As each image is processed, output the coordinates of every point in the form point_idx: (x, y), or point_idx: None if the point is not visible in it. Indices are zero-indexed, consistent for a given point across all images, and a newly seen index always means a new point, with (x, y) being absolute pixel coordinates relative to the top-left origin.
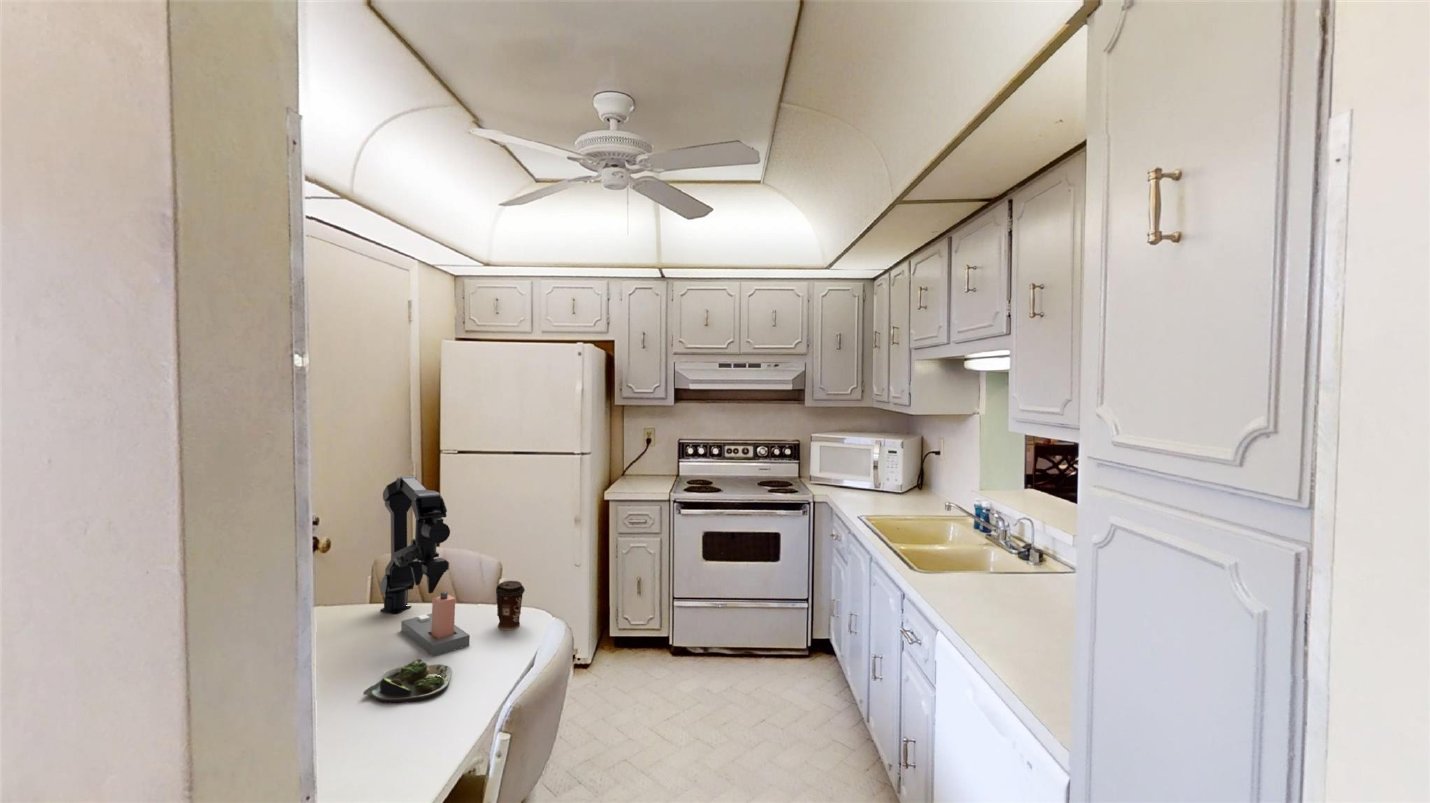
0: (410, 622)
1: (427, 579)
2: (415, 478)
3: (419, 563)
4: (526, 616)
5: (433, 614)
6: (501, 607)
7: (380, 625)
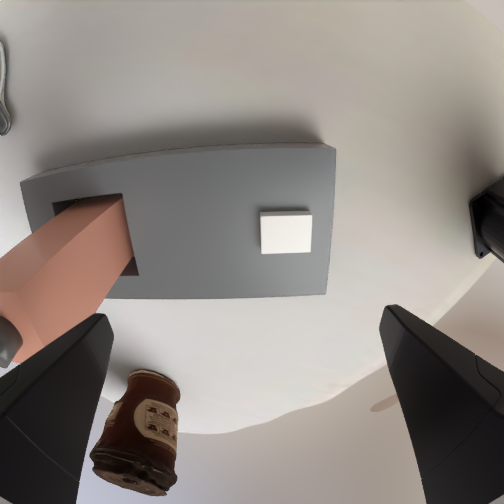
0: (287, 172)
1: (7, 391)
2: None
3: (468, 487)
4: (193, 422)
5: (54, 243)
6: (119, 417)
7: (422, 113)
